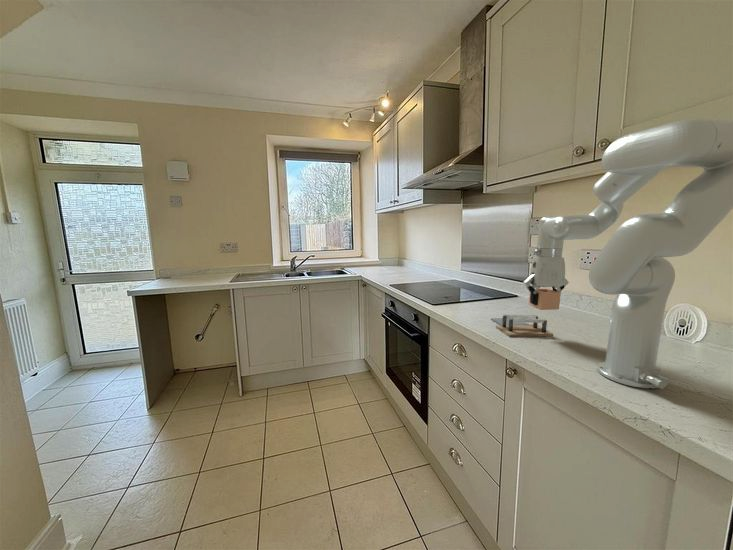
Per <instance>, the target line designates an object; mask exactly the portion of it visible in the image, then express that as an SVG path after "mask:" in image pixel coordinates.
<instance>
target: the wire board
mask: <svg viewBox="0 0 733 550" xmlns="http://www.w3.org/2000/svg"><path fill="white" fill-rule="evenodd" d="M508 328H509V325H506V327H502V326H500V325H495V329H497V330H498V329H499V330H498V331H500V332H501V333H503V334H504V335H506V336H508V337H509V338H518V337H521V338H523V337H545V336H546V337H548V336H549V337H553V336H554V333H553V332H551V331H549V330H547V329H546V333H542V326H539V325H537V328H533V324H529V325H513V331H508Z"/></svg>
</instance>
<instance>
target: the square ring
mask: <svg viewBox="0 0 733 550" xmlns="http://www.w3.org/2000/svg"><path fill="white" fill-rule="evenodd" d="M537 294H538V304H537V305H534V304H532V303H530V295H531V292H529V295H528V297H529V298H528V306H530V307H533V308H535V309H538V310H540V311H547V310H549V311H550V310H551V311H552V310H556V311H557V310H560V302H561V295H562V291H561V292H558V291H555V290H552V288H549V287H540V289H539V291H538V292H537Z"/></svg>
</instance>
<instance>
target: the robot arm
mask: <svg viewBox="0 0 733 550" xmlns="http://www.w3.org/2000/svg"><path fill="white" fill-rule="evenodd" d="M601 165H602V168H603V170H604V171H606V172H605V174H604V175H602V176H601V177H600V178H599V179H598V180H597V181H596V182H595V183H594V185H593V188H592V191H593V194H594V195H595V196H596V198H597V199H598V200H599V201H600V202H601V203H599V205H598V206H597V207H596V208H595V209H593V210H592V211H591V212H590V213H588V214H573V215H568V214H567V215H566V214H565V215H558V216H544V217H541V218H540V220H539V224H538V231H537V232H538V233H537V243H536V249H534V250H533V254H534V255H535V256H534V257H533V259H532V263H531V268H530V272H529V276H527V278H526V279H525V280H524V281H523V283H522V284H523V285H524V287H525V288H526V289H527V290H528V292H529V293H530V292H531V295H530V294H529V295H530V303H532V304H534V305H537V304H538V294H537V292H538V291H539V289H540V288H550V289H552V290H555V291H558V292H561V293H562V291H563V290H564V289H565V287H566V286H567V285H568V284H569V282H570V281H568V279H566V261H565V257H563V250H564V241H566V240H569V241H570V240H590V239H593V238H596V237H598V236H599V235H601V234H602V233H604V232H605V231H607V230H608V229H609V228H610V227H612V225H614V224H615V223H616V222H617V221H618V219H619V218H620V216H621V213H622V211H623V209H624V204H625V202H626V201H628V200H629V199H631V197H633V196H634V195H636V193H637V192H639V190H641V189H642V188H643V187H645V185H647V184H648V183H649V182H651V180H653V179H654V178H656V177H657V176H658V175H659V174H660V173H661V172H663V171H664V170H665V169H666V168H702V169H703V171H702V173H700V174H699V175H698V176H697V177H695V178H694V179H692V180H691V181H690V182H688V183H687V184H686V185H685V186H684V187H683V188H682V189H681V190H680V191H679V192H678V193H677V194H676V195H675V197H674V198H673V200H672V201H671V202H670V203H669V205H668V206H667V207H666V208H665V209H664V210H663V211H662V212H659V213H643V214H640V215H638V214H637V215H635V216H632V217H630V218H628V219H627V220H625V221H624V222H623V223H621V224H620V225H619V226H618V227H617V228H616V230H615V231H614V232H613V234H612V235H611V236H610V238H609V239H608V240H607V242H606V243H605V245H604V246H603V248H602V249H601V251H600V252H599V253H598V255H597V256H596V257H595V259H594V261H593V263H592V264H591V266H590V267H589V268H590V269H589V272H588V273H589V274H588V279H589V282H590V285H591V286H592V288H593V289H594V290H596V291H597V292H599V293H601V294H605V295H610V296H611V295H612V296H613V295H614V296H616V297H615V299H614V301H613V304H612V306H611V312H610V313H611V314H610V320H609V330H608V336H607V345H606V352H605V361H602V362H599V363H597V366H596V369H597V372H598V373H599V374H600V375H602V376H603V377H605V378H607V379H609V380H611V381H613V382H617V383H618V384H622V385H626V386H630V387H635V388H641V389H649V388H652V389H661V390H663V389H664V388H666V387H667V385H670V382H671V380H670V379H669V378H668V377H666V376H663V375H661V368H660V367H659V366H657V362H658V361H657V360H658V355H659V354H658V353H659V347H660V342H661V334H662V327H663V322H664V321H663V320H664V316H665V310H666V306H667V302H668V298H669V296H670V293H671V291H672V289H673V286H674V282H675V279H676V271H675V268H674V266H673V264H672V263H671V262H670V261H669V260H668V259H666V258H673V257H682V256H686V255H689V254H690V253H692V252H693V251H694V250H695V249H697V248H698V247H699V246H700V245H701V243H702V242H703V241H704V240H705V239H706V238H707V237H708V236H709V235H710V234H711V233H712V231H713V230H715V229H716V227H717V226H718V225H719V224H720V223H721V222H722V221H723V220H724V219H725V218H726V217H727V216H728V214H729V213H730V212H731V210H733V120H723V119H722V120H721V119H720V120H719V119H703V118H688V119H681V120H676V121H671V122H669V123H666V124H662V125H658V126H654V127H650V128H646V129H643V130H639V131H635V132H630V133H628V134H625V135H623V136H621V137H618V138H617V139H615V140H613V142H612V143H610V145H608V147H607V148H606V149H605V150H604V152H603V154H602V157H601Z"/></svg>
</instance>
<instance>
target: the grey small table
mask: <svg viewBox="0 0 733 550" xmlns="http://www.w3.org/2000/svg"><path fill="white" fill-rule="evenodd" d="M502 318H503V320H502V327H506V321H507V318H510V319H509V328H508V331H513V322H526V323H533V324H532V325H533V328H537V326H539V325H538V324H539V323H540V324H541V328H542V333H546V330H547V327H548V325H547V324H548V320H547V319H545V318H544V319H543V318H542V319H541V318H539V316H538V315H535V314H533V315H531V314H529V315H528V314H503V315H502Z"/></svg>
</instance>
